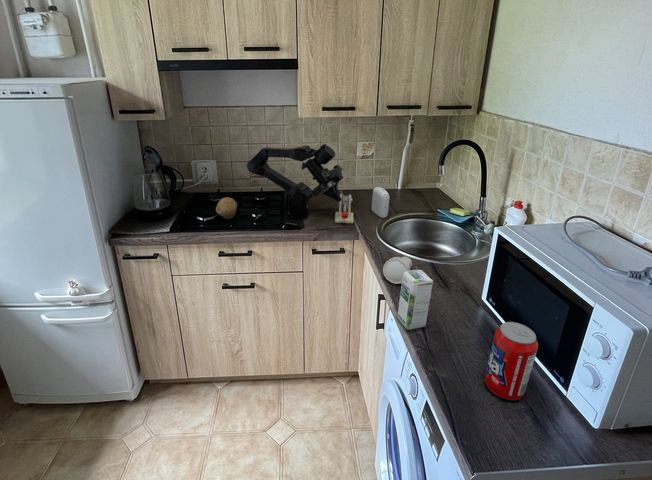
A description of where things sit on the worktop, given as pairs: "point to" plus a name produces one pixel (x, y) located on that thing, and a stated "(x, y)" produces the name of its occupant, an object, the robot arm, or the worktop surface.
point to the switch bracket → (350, 215)
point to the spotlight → (396, 269)
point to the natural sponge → (226, 207)
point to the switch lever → (344, 213)
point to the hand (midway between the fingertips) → (340, 200)
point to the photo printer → (380, 202)
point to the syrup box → (414, 299)
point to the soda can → (511, 360)
